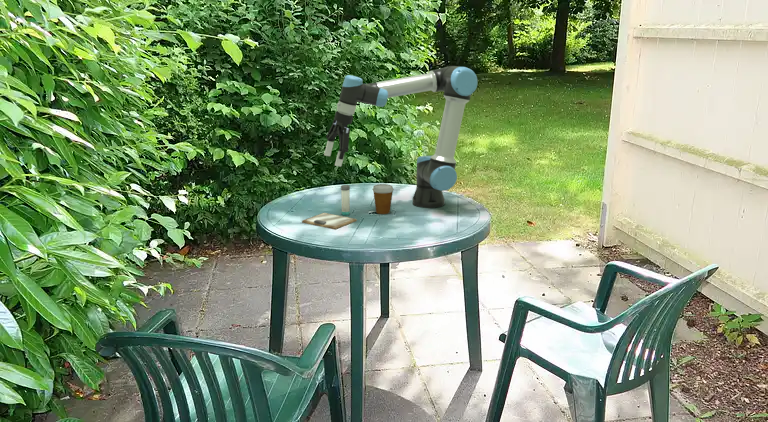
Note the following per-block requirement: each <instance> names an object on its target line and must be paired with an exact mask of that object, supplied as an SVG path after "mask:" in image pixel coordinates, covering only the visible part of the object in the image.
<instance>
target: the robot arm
mask: <svg viewBox="0 0 768 422" xmlns="http://www.w3.org/2000/svg"><path fill="white" fill-rule="evenodd" d="M363 81H364V80H363V78H361V77H359V76H355V75H351V74H350V75H349V74H347V75H345V77H344V80H343V83H342V84H341V85H342V86H341V90H340V91H341V92H340V95H339V98H338V102H337V103H336V106H337V107H336V111H335V114H334V118H333V120H332V124H331V126H330V128H329V130H328V132H327V134H326V136H325V138H326V140H327V142H326V147H325V150H324V153H323V156H326V157H331V155H332V151H333V147H334V143H335V141H336V140H335V139H336V137H337V136H338V137H339V138H338V139H339V149H338V151H337V155H336V159H335V162H334V166H336V167H342V166H343V161H344V158H345V154H346V153H348V152H349V146H350V133H351V128H350V127H348V126H349V125H352V123H353V119H354V115H355V112H356V108H357V104H358V102H359V103H364V104H367V105H372V106H375V107H381V108H383V107H385V106H386V104H387V102H388V99H389V98H396V97H401V96H406V95H413V94H418V93H419V94H420V93H423V92H429V91H431V92H433V93H436V92H443V97H444V99H445V103H444V104H445V105H444V109H443V113H442V117H441V121H440V128H439V133H438V138H437V142H436V147H435V151H434V154H432V155H422V156H418V157H417V158H416V159H417V160H416V164H415V165H416V186H415V191H414V193H413V197H412V205H414V206H416V207H419V208H428V209H429V208H430V209H431V208H433V209H434V208H440V207H444V205H445V196H444V193H443V191H444V192H445V191H448V190H450V189H451V188H453V187H454V185H455V184H456V182H457V179H458V174H457V172H456V166H457V161H456V159H455V154H456V148H457V144H458V139H459V135H460V131H461V126H462V122H463V121H462V120H463V117H464V112H465V107H466V105H467V103H469V102H470V100H471V96H472V94H473V93H475V91H476V90H477V87H478V84H479V83H478V82H479V81H478V77H477V74H476V73H475V71H474V70H472V69H471V68H468V67H466V66H459V65H458V66H457V65H450V66H449V65H448V66H445V67H442V68H437V69H433V70H430V71H429V72H428V73H422V74H417V75H412V76H406V77H400V78H394V79H389V80H383V81H377V82H371V83H363Z"/></svg>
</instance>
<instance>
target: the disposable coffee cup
mask: <svg viewBox="0 0 768 422" xmlns="http://www.w3.org/2000/svg"><path fill="white" fill-rule="evenodd" d="M393 187H394V186H393V185H392V184H386V183H383V184H381V183H378V184H375V185H373V188H372V192H373V197H374V198H373V199H374V207H375V213H377V214H378V215H388V214H390V213H391V207H392V200H393V192H394V190H395V189H394V188H393Z"/></svg>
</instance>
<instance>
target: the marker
mask: <svg viewBox="0 0 768 422" xmlns="http://www.w3.org/2000/svg"><path fill="white" fill-rule="evenodd" d="M350 189H351V187H350V185H348V184H342V185H340V190H341V191H340V192H341V193H340V194H341V199H340V200H341V216H349V215H351V211H350V210H351V201H350V198H351V197H350V196H351V195H350V194H351V193H350Z"/></svg>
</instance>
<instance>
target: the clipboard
mask: <svg viewBox="0 0 768 422" xmlns="http://www.w3.org/2000/svg"><path fill="white" fill-rule="evenodd" d="M357 221H358V219H357V218H354V217H348V216H345V215H338V214H332V213H326V212H322V213H320V214H316V215H314V216H311V217H308V218H305V219H303V220H301V223H302V224H307V225H312V226H317V227H322V228H326V229H331V230H338V229H341V228H342V227H344V226H348V225H350V224H352V223H355V222H357Z"/></svg>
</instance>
